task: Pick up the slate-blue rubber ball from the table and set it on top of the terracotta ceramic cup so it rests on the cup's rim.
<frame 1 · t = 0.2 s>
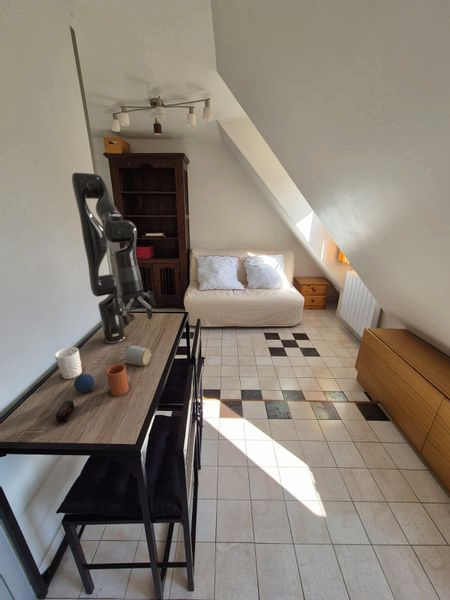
hand: (138, 321, 93), 22 cm above the table, tool pointing down, fingers open, 8 cm apart
cup: (119, 390, 90), on the table
wireless earbuds: (65, 414, 80), on the table
white cup: (72, 374, 100), on the table
ball: (84, 382, 89), point 3 cm above the table
ceramic mug: (140, 361, 107), on the table
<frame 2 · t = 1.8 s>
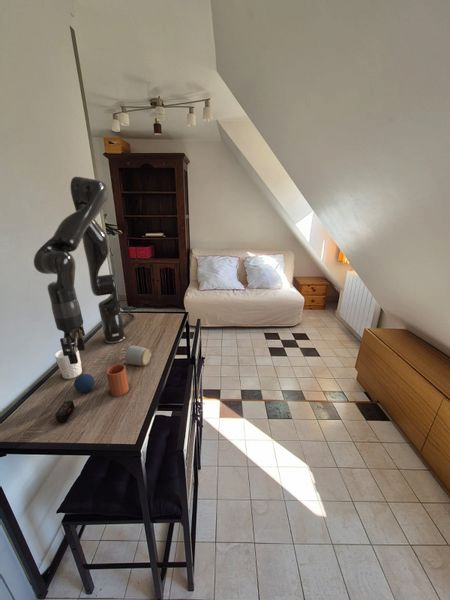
hand: (78, 356, 86), 14 cm above the table, tool pointing down, fingers open, 8 cm apart
nothing on the table moved.
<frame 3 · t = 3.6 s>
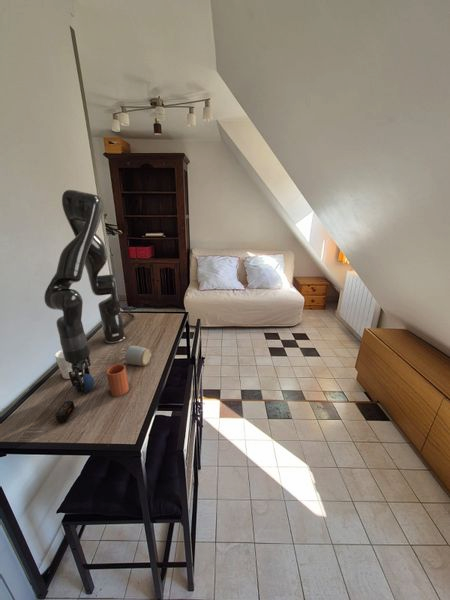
hand: (85, 385, 90), 2 cm above the table, tool pointing down, fingers closed on ball, 6 cm apart
ball: (84, 383, 89), point 3 cm above the table, touching gripper
everything else where it was.
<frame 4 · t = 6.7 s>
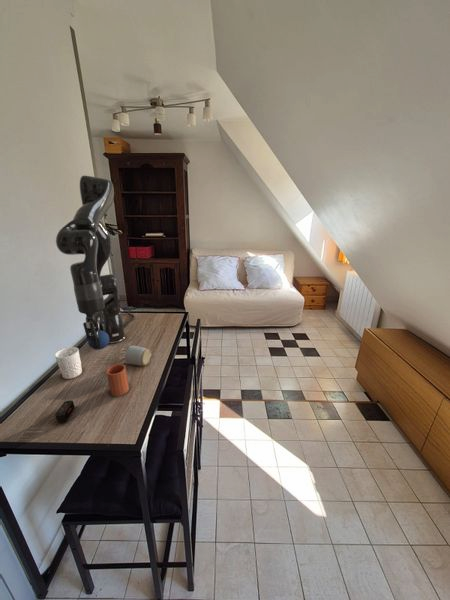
hand: (99, 342, 84), 20 cm above the table, tool pointing down, fingers closed on ball, 6 cm apart
ball: (98, 339, 83), point 21 cm above the table, touching gripper
everything else where it was.
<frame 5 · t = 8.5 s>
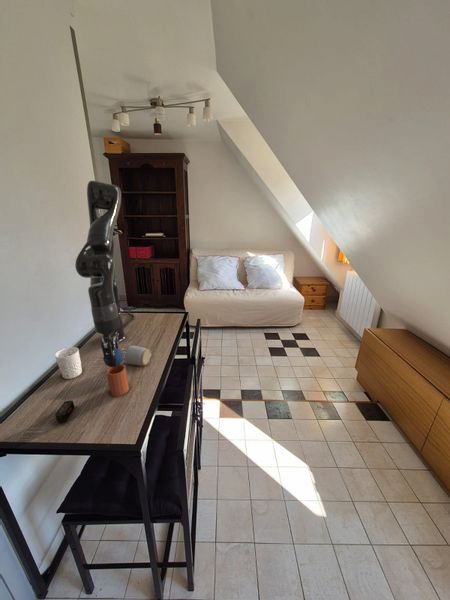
hand: (114, 359, 86), 13 cm above the table, tool pointing down, fingers closed on ball, 6 cm apart
ball: (113, 357, 86), point 14 cm above the table, touching gripper
everything else where it was.
when the fingers open (10 cm above the table, at t = 9.9 s): ball stays where it is, resting on cup.
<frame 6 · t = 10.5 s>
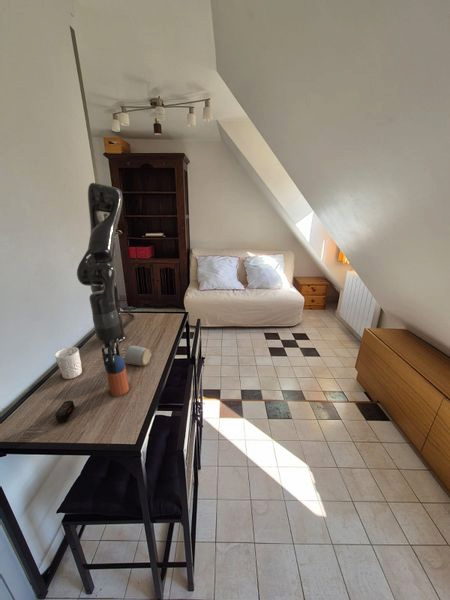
hand: (114, 364, 87), 11 cm above the table, tool pointing down, fingers open, 8 cm apart
cup: (119, 390, 90), on the table, touching ball
ball: (115, 364, 87), point 11 cm above the table, touching cup
everything else where it was.
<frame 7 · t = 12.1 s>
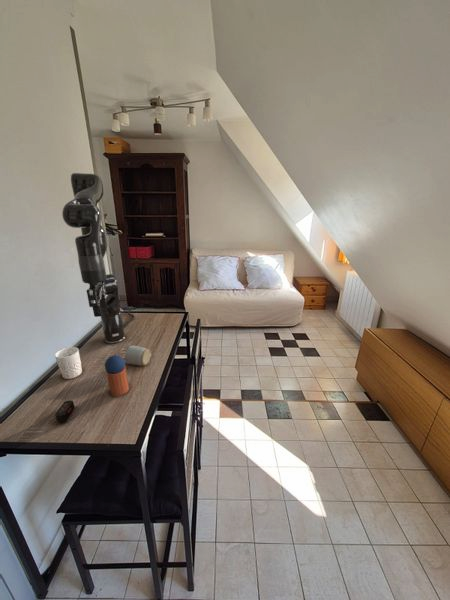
hand: (100, 311, 90), 27 cm above the table, tool pointing down, fingers open, 8 cm apart
nothing on the table moved.
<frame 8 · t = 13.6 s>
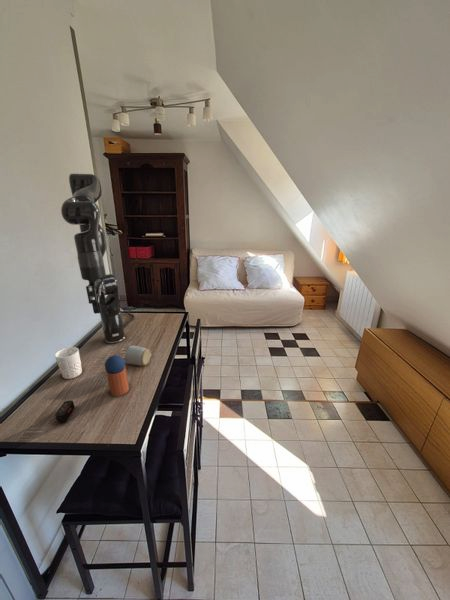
hand: (100, 308, 90), 28 cm above the table, tool pointing down, fingers open, 8 cm apart
nothing on the table moved.
at the end: ball 0.0 cm off-centre on the cup, point 10.9 cm above the cup's base; the gripper is holding nothing; cup tilted 0° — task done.
